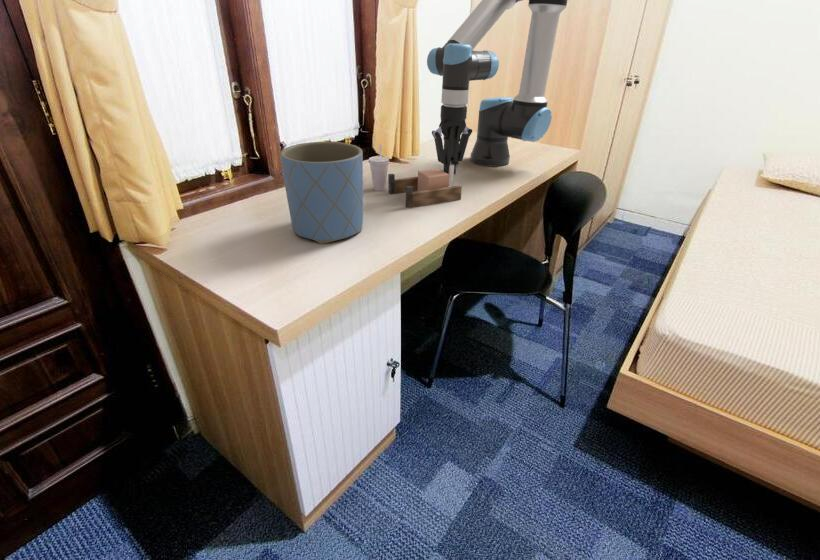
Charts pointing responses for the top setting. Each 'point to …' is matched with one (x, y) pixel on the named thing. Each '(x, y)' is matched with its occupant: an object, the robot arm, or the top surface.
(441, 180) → the block
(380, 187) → the smoothie
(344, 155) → the planter
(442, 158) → the robot arm
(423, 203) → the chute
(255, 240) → the top surface
